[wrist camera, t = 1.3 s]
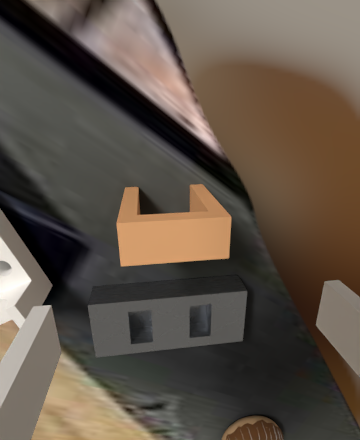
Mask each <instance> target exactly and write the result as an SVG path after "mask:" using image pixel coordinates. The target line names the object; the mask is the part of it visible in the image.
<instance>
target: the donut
mask: <svg viewBox="0 0 360 440" xmlns="http://www.w3.org/2000/svg"><path fill="white" fill-rule="evenodd" d="M222 440H283V433H282V431H281V429H280V428H279V427H278V426H277V424H276V423H275V422H274V421H272V420H271V419H269V418H267V417H264V416H248V417H244V418H241V419H239V420H237V421H236V422H234V423H233V424H231V425H230V426H229V427H228V428H227V430H226V431H225V433H224V435H223V437H222Z"/></svg>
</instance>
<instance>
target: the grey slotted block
mask: <svg viewBox="0 0 360 440" xmlns="http://www.w3.org/2000/svg"><path fill="white" fill-rule="evenodd" d="M246 301H247V289H246V288H245V286H244V284H243V283H242V281H241V279H240V278H239V276H238V275H228V276H216V277H203V278H191V279H179V280H167V281H155V282H143V283H130V284H118V285H106V286H94V287H93V288H92V292H91V295H90V299H89V302H88V311H89V317H90V323H91V330H92V336H93V342H94V348H95V355H96V357H104V356H113V355H122V354H131V353H140V352H149V351H158V350H167V349H176V348H185V347H194V346H203V345H212V344H221V343H230V342H238V341H243V333H244V322H245V312H246Z"/></svg>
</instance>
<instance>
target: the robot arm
mask: <svg viewBox="0 0 360 440" xmlns="http://www.w3.org/2000/svg"><path fill="white" fill-rule="evenodd" d="M316 326H317V327H318V329H319V330H320V331H321V332H322V333H323V334H324V336H325V337H326V338H327V339H328V340H329V342H330V343H331V344H332V345H333V346H334V348H335V349H336V350H337V351H338V352H339V354H340V355H341V356H342V357H343V358H344V359H345V360H346V362H347V363H348V364H349V365H350V367H351V368H352V369H353V370H354V371H355V373H356V374H357V375H358V376H359V377H360V297H359V296H358V295H356V294H355V293H354V292H353V291H352V290H350V289H349V288H348V287H347V286H345V285H344V284H343V283H342V282H341V281H339V280H333V281H325V282H324V287H323V292H322V297H321V302H320V307H319V312H318V317H317V322H316ZM60 355H61V348H60V344H59V339H58V334H57V330H56V325H55V320H54V316H53V311H52V306H51V305H46V306H34V307H33V308H32V309H31V311H30V313H29V315H28V316H27V318H26V320H25V321H24V323H23V325H22V327H21V328H20V330H19V332H18V333H17V335H16V337H15V338H14V340H13V342H12V344H11V345H10V347H9V349H8V350H7V352H6V354H5V355H4V357H3V359H2V361H1V362H0V440H31V438H32V435H33V432H34V429H35V426H36V423H37V421H38V418H39V415H40V412H41V409H42V406H43V403H44V401H45V398H46V395H47V392H48V389H49V386H50V383H51V381H52V378H53V375H54V372H55V369H56V366H57V363H58V361H59V358H60Z"/></svg>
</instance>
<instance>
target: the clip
mask: <svg viewBox="0 0 360 440" xmlns="http://www.w3.org/2000/svg"><path fill="white" fill-rule="evenodd" d="M117 232H118V241H119V251H120V261H121V266H133V265H146V264H160V263H173V262H187V261H200V260H213V259H227V258H229V250H230V234H231V216H230V215H229V213H228V212H227V211H226V210H225V209H224V208H223V207H222V206H221V204H220V203H219V202H218V201H217V200H216V199H215V198H214V197H213V195H212V194H211V193H210V192H209V191H208V190H207V189H206V188H205V186H204V185H203V184H197V185H190V212H186V213H167V214H148V215H140V202H139V187H125V191H124V195H123V199H122V203H121V207H120V211H119V216H118V220H117Z"/></svg>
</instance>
